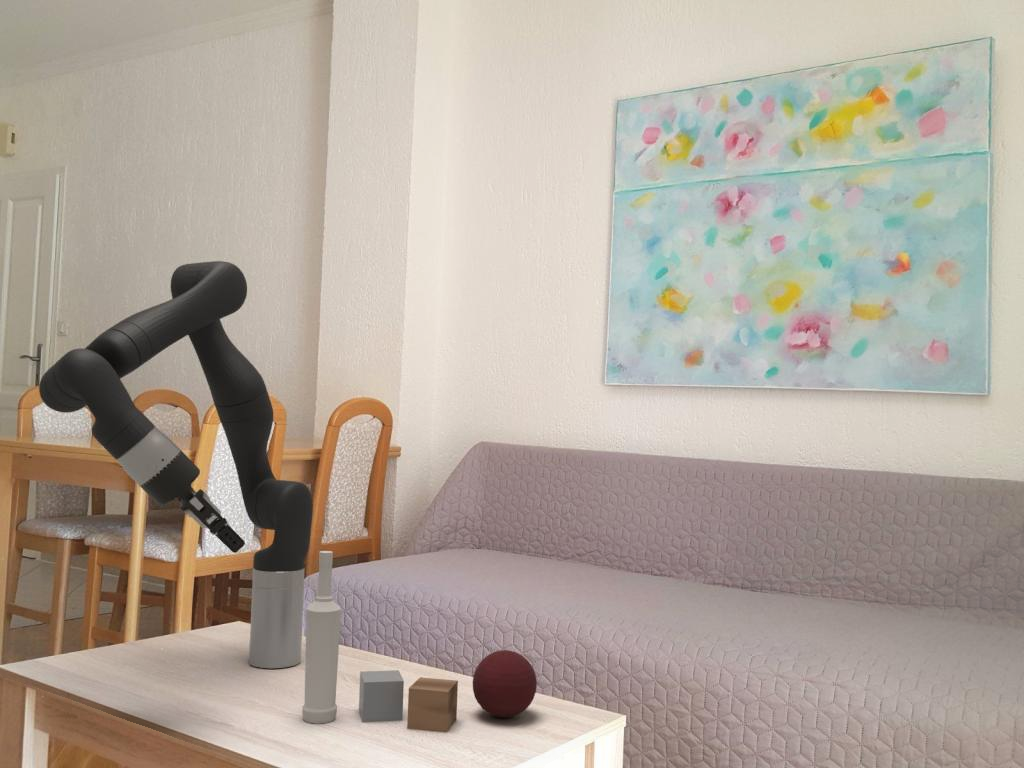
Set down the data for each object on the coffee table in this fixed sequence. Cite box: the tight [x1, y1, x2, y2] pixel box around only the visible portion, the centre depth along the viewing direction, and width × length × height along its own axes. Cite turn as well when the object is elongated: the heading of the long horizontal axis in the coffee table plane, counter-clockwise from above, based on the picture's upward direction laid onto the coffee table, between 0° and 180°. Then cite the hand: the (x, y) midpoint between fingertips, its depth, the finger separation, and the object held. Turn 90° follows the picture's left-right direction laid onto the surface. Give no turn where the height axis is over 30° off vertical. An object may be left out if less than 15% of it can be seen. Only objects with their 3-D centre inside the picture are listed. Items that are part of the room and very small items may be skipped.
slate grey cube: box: [358, 669, 405, 723], centre depth 143 cm, size 6×6×6 cm
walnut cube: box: [406, 676, 459, 734], centre depth 140 cm, size 6×6×6 cm
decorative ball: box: [472, 649, 538, 719], centre depth 144 cm, size 10×10×10 cm
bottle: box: [302, 550, 342, 725], centre depth 141 cm, size 5×5×25 cm
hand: (235, 544), depth 139 cm, fingers open, 8 cm apart
